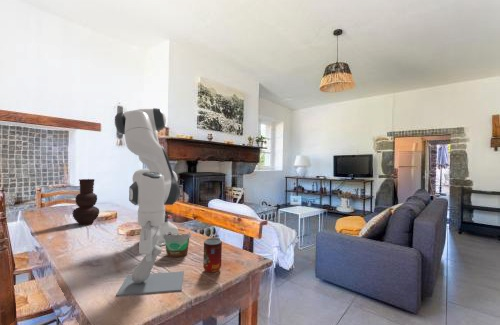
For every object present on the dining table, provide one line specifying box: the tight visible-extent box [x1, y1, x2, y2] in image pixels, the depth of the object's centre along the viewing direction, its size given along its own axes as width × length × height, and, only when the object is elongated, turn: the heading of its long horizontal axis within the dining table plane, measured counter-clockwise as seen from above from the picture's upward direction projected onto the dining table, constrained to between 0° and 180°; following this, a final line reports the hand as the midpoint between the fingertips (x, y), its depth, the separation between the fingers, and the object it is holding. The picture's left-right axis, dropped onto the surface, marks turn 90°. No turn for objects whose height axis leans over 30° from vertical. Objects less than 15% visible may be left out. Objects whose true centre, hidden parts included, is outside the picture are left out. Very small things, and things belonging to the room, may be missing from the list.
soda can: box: [203, 237, 223, 275], centre depth 97 cm, size 7×7×12 cm
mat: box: [115, 270, 185, 297], centre depth 86 cm, size 20×14×1 cm
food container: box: [164, 232, 192, 259], centre depth 111 cm, size 12×6×10 cm, turn 105°
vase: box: [71, 178, 100, 226], centre depth 166 cm, size 15×15×30 cm
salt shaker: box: [131, 245, 163, 284], centre depth 86 cm, size 6×6×13 cm
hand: (150, 258), depth 86 cm, fingers closed on salt shaker, 3 cm apart
